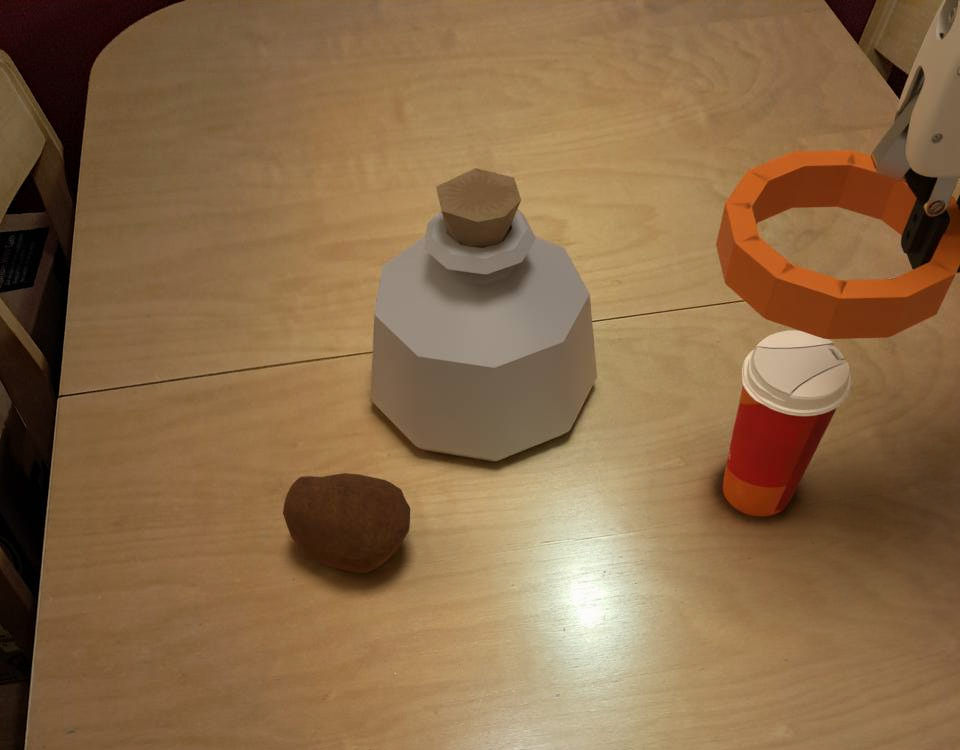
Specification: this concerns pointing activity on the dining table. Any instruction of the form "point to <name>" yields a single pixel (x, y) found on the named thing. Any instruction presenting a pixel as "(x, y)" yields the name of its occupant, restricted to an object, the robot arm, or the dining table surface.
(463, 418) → the bottle
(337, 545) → the potato
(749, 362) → the paper cup
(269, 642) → the dining table surface
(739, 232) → the ring
